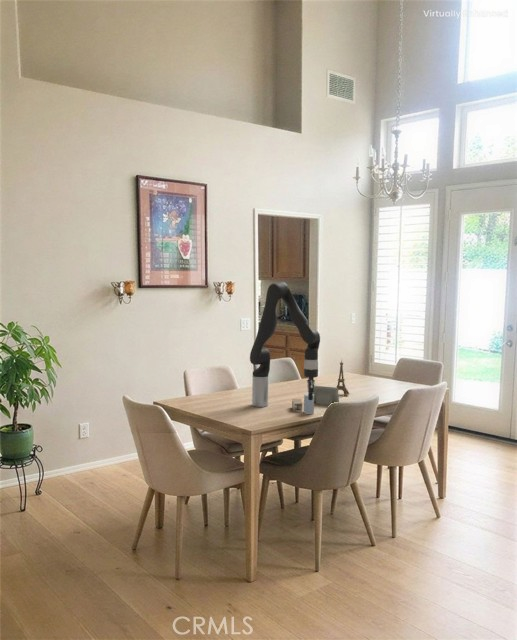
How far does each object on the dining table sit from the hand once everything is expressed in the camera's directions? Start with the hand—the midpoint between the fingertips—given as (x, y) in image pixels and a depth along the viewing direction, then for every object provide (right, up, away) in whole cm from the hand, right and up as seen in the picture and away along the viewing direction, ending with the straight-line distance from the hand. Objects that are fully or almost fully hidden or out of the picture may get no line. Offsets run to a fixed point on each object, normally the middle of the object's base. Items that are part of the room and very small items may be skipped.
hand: (310, 399), depth 296 cm
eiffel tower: (+25, -6, +61) cm, 66 cm away
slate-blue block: (0, -8, +9) cm, 13 cm away
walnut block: (-6, -6, +12) cm, 14 cm away
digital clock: (+12, -7, +34) cm, 36 cm away
